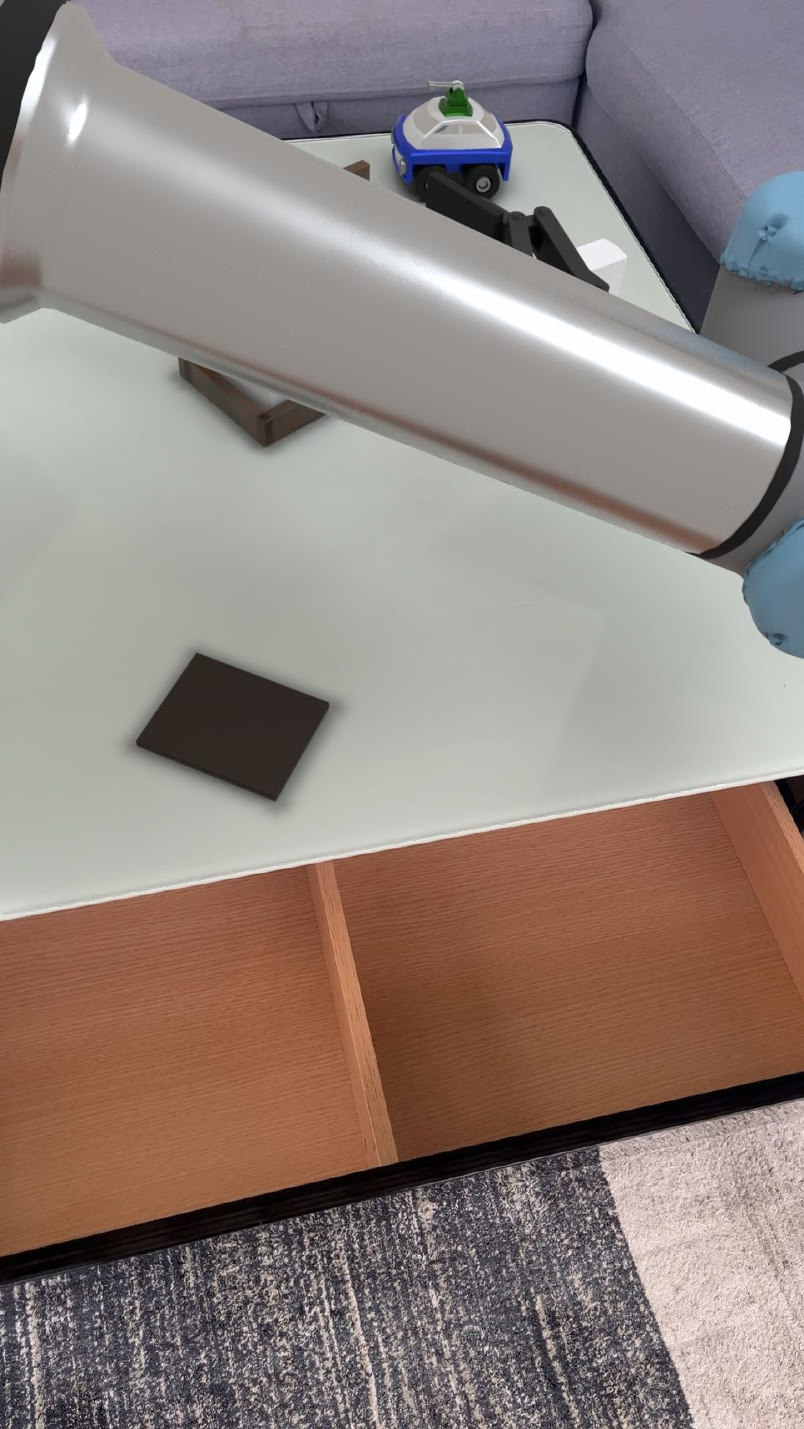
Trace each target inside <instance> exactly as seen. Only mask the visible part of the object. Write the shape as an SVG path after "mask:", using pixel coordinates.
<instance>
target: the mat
mask: <svg viewBox="0 0 804 1429" xmlns="http://www.w3.org/2000/svg"><path fill="white" fill-rule="evenodd" d="M329 708H330V702H329V701H326V700H324V699H321V698H318V697H316V696H314V695H311V694H308V693H305V692H304V691H303V692H302V691H300V690H298V689H295V688H292V687H289V686H288V685H287V686H286V685H284V684H281V683H279V682H276V681H273V680H271V679H269V678H266V677H263V676H260V675H258V674H255V673H253V672H251V671H250V672H249V671H247V670H244V669H242V668H240V667H236V666H234V665H232V664H229V663H226V662H223V661H221V660H218V659H215V658H213V657H210V656H208V655H205V654H202V653H199V652H195V654H194V656H193V657H192V658H191V659H190V661H189V663H188V664H187V666H186V667H185V668H184V670H183V671H182V673H181V674H180V676H179V677H178V678H177V680H176V682H175V683H174V684H173V686H172V687H171V689H170V690H169V692H168V693H167V694H166V696H165V698H164V699H163V700H162V702H161V703H160V705H159V706H158V707H157V709H156V711H155V712H154V714H153V715H152V716H151V718H150V719H149V721H148V722H147V724H146V725H145V727H144V728H143V730H142V731H141V732H140V735H138V737H137V739H136V740H135V743H136V746H137V747H139V748H142V749H144V750H147V751H149V752H151V753H154V754H156V755H159V756H162V757H163V758H167V759H169V760H171V761H174V762H177V763H178V764H181V765H184V766H186V767H189V768H191V769H194V770H196V771H199V772H201V773H204V774H206V775H209V776H212V777H215V778H217V779H218V780H221V781H224V782H226V783H229V784H232V785H233V786H236V787H239V788H242V789H244V790H247V791H249V792H252V793H254V794H256V795H259V796H261V797H264V798H267V799H268V800H272V801H274V802H276V801H277V800H278V798H279V796H280V795H281V793H282V791H283V789H284V787H285V786H286V784H287V782H288V781H289V779H290V777H291V776H292V774H293V772H294V770H295V769H296V766H297V765H298V763H299V761H300V760H301V758H302V756H303V755H304V753H305V751H306V749H307V747H308V745H309V744H310V743H311V740H312V739H313V736H315V733H316V731H317V729H318V728H319V726H320V725H321V722H322V721H323V720H324V717H325V715H326V714H327V712H328V710H329Z"/></svg>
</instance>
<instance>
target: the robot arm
mask: <svg viewBox="0 0 804 1429" xmlns="http://www.w3.org/2000/svg"><path fill="white" fill-rule="evenodd" d="M343 168H344V167H340V166H339V165H336V164H334V163H332V162H330V161H327V160H325V159H324V158H321V157H320V156H317V155H314V154H312V153H311V152H308V151H306V150H304V149H302V148H299V147H298V146H296V145H293V144H291V143H289V142H287V141H285V140H283V139H280V138H278V137H276V136H274V135H272V134H270V133H268V132H265V131H264V130H261V129H259V128H257V127H255V126H253V125H251V124H249V123H246V122H244V121H242V120H240V119H238V118H235V117H234V116H231V115H229V114H227V113H225V112H222V111H221V110H218V109H216V108H214V107H212V106H210V105H207V104H205V103H204V102H201V101H199V100H197V99H195V98H192V97H190V96H189V95H187V94H185V93H182V92H180V91H177V90H176V89H173V88H171V87H169V86H167V85H165V84H162V83H161V82H159V81H156V80H155V79H152V78H150V77H148V76H146V75H143V74H141V73H139V72H137V71H135V70H133V69H131V68H128V67H126V66H124V65H122V64H121V63H118V62H115V60H114V59H113V58H112V57H111V55H110V54H109V53H108V51H107V50H106V48H105V46H104V44H103V42H102V39H101V38H100V35H99V34H98V32H97V29H96V28H95V26H94V24H93V22H92V20H91V17H90V16H89V14H88V12H87V10H86V8H85V7H84V6H82V5H81V4H79V3H77V2H75V1H74V0H0V324H2V325H5V324H8V323H10V322H12V321H15V320H18V319H20V318H22V317H25V316H27V315H30V314H31V313H34V312H36V311H39V310H41V309H48V310H49V309H50V310H54V311H58V312H60V313H62V314H65V315H68V316H70V317H73V318H75V319H78V320H81V321H83V322H86V323H88V324H91V325H93V326H96V327H99V328H102V329H104V330H107V331H109V332H112V333H115V334H117V335H120V336H122V337H125V338H128V339H130V340H133V341H135V342H138V343H141V344H143V345H146V346H149V347H151V348H154V349H156V350H158V351H162V352H164V353H166V354H169V355H172V356H174V357H176V358H178V357H179V358H182V359H185V360H187V361H190V362H192V363H195V364H198V365H200V366H203V367H205V368H208V369H211V370H213V371H216V372H218V373H221V374H224V375H226V376H229V377H231V378H234V379H237V380H239V381H242V382H244V383H247V384H249V385H252V386H255V387H257V388H260V389H262V390H265V391H268V392H270V393H273V394H275V395H278V396H281V397H283V398H286V399H288V400H291V401H294V402H296V403H299V404H301V405H304V406H307V407H309V408H312V409H314V410H317V411H320V412H322V413H325V414H326V415H328V416H330V417H333V418H336V419H337V420H340V421H343V422H346V423H348V424H351V425H354V426H356V427H359V428H362V429H364V430H367V431H368V432H369V431H370V432H371V433H375V434H377V435H378V436H379V435H380V436H383V437H385V438H388V439H390V440H393V441H394V442H397V443H401V444H403V445H406V446H408V447H410V448H413V449H416V450H418V451H421V452H423V453H426V454H429V455H432V456H433V457H436V458H440V459H442V460H445V461H447V462H450V463H451V464H455V465H457V466H460V467H462V468H465V469H468V470H470V471H473V472H476V473H478V474H481V475H482V476H486V477H489V478H491V479H494V480H496V481H499V482H501V483H503V484H506V485H510V486H511V487H514V488H517V489H520V490H522V491H525V492H528V493H530V494H533V495H535V496H538V497H539V498H544V499H545V500H548V501H551V502H553V503H556V504H558V505H561V506H564V507H566V508H569V509H572V510H574V511H576V512H579V513H582V514H584V515H587V516H590V517H592V518H595V519H597V520H600V521H602V522H605V523H608V524H611V525H614V526H615V527H618V528H620V529H623V530H627V531H629V532H631V533H633V534H637V535H639V536H642V537H643V538H647V539H649V540H651V541H655V542H657V543H660V544H662V545H665V546H668V547H670V548H672V549H675V550H678V551H681V552H683V553H685V554H688V555H690V556H692V557H696V558H697V559H700V560H703V561H704V562H707V563H709V564H711V565H714V566H717V567H720V568H722V569H724V570H727V571H730V572H732V573H735V574H737V575H738V576H740V578H742V580H743V581H742V586H741V594H742V598H743V601H744V603H745V604H746V605H747V606H748V609H749V613H750V616H751V619H752V621H753V623H754V625H755V627H756V629H757V631H758V632H759V633H760V634H761V635H762V636H763V637H764V638H765V639H766V640H767V641H768V642H769V644H770V646H772V647H773V648H775V649H777V650H778V651H780V652H782V653H784V654H787V655H789V656H792V657H795V658H798V659H802V660H804V169H803V170H802V169H801V170H794V171H788V172H786V173H782V174H778V175H776V176H774V177H771V178H770V179H767V180H766V181H764V182H762V183H761V184H760V185H758V186H757V187H756V188H755V189H754V190H753V191H752V192H751V193H750V195H749V196H748V198H746V201H745V202H744V204H743V207H742V208H741V211H740V214H739V216H738V219H737V220H736V223H735V225H734V228H733V231H732V233H731V236H730V238H729V241H728V243H727V245H726V248H725V250H724V251H723V252H722V253H721V254H720V258H719V261H718V263H719V264H720V267H719V270H718V273H717V277H716V280H715V283H714V287H713V290H712V292H711V295H710V299H709V302H708V306H707V309H706V312H705V316H704V319H703V323H702V325H701V329H700V331H699V334H698V333H696V332H694V331H691V330H689V329H687V328H685V327H683V326H681V325H680V324H679V325H678V324H676V323H675V322H672V321H669V320H668V319H665V318H664V317H661V316H660V315H657V314H655V313H654V312H651V311H649V310H647V309H644V308H642V307H640V306H638V305H636V304H635V303H632V302H629V301H628V300H625V299H623V298H621V297H619V296H618V297H617V296H614V295H612V294H610V293H609V288H610V287H609V285H608V283H606V282H605V281H604V280H602V279H601V278H600V277H598V276H597V275H596V274H594V273H593V272H592V271H590V270H589V268H588V267H587V265H586V264H585V262H584V260H583V259H582V257H581V256H580V254H579V253H578V251H577V250H576V248H577V247H575V245H574V243H573V242H572V240H571V238H570V237H569V235H568V234H567V232H566V231H565V229H564V227H563V226H562V225H561V223H560V221H559V220H558V218H557V217H556V215H555V214H554V212H553V210H552V209H551V208H550V207H547V206H544V205H539V206H536V207H534V209H533V213H532V214H528V215H526V214H525V213H523V212H521V211H517V210H513V211H509V210H507V209H505V208H503V207H502V206H500V205H498V204H496V203H495V202H493V201H492V200H490V199H487V198H484V197H481V196H479V197H478V196H477V195H475V194H473V193H472V192H470V191H468V190H467V189H466V187H465V186H462V185H461V184H459V183H457V182H456V181H454V180H452V179H451V178H450V177H449V178H447V177H446V176H444V175H443V174H441V173H439V172H438V171H433V172H431V173H429V174H428V179H427V194H426V201H425V206H424V205H422V204H419V203H417V202H415V201H413V200H411V199H409V198H407V197H404V196H402V195H401V194H398V193H397V192H394V191H392V190H390V189H388V188H386V187H383V186H382V185H379V184H377V183H375V182H372V181H371V180H370V181H368V180H366V179H364V178H362V177H360V176H358V175H355V174H353V173H351V172H349V171H347V170H345V169H343Z"/></svg>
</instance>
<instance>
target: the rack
mask: <svg viewBox="0 0 804 1429" xmlns="http://www.w3.org/2000/svg"><path fill="white" fill-rule="evenodd" d="M342 168H343V169H345V170H347V171H349V172H351V173H353V174H355V175H358V176H360V177H362V178H364V179H366V180H368V181H370V182H371V179H370V178H371V164H370V163H369V162H367V161H366V160H364V159H360V160H359V161H356V162H354V163H351V164H348V165H345V166H344V167H342ZM177 361H178V363H177V364H178V370H179V375H180V377H182V378H183V379H184V380H185V381H187V382H188V383H189V384H190V385H191V386H192V387H193V388H195V389H196V390H197V391H198V392H200V393H201V395H203V396H204V397H206V399H208V400H209V401H210V402H211V403H213V404H214V406H216V407H217V408H218V409H219V410H221V412H223V413H224V414H225V415H227V416H228V417H229V418H230V419H231V420H232V421H233V422H234V423H236V424H237V425H238V426H240V428H242V429H243V430H244V431H245V432H246V433H248V435H250V436H251V437H252V438H253V439H255V440H256V441H257V442H258V443H259V444H260V445H261V446H263V448H266V447H268V446H271V445H272V444H274V443H276V442H278V441H280V440H281V439H283V438H285V437H287V436H289V435H290V434H292V433H294V432H296V431H298V430H300V429H302V428H304V427H305V426H307V425H309V424H311V423H313V422H314V421H316V420H318V419H320V418H322V417H324V416H326V415H327V414H325V413H322V412H320V411H317V410H314V409H312V408H309V407H307V406H304V405H301V404H299V403H296V402H294V401H291V400H286V401H285V402H283V403H281V404H279V405H277V406H275V407H273V408H271V409H269V410H267V411H264V410H262V409H261V408H260V407H259V406H258V405H256V404H255V403H254V402H253V401H252V400H250V399H249V398H248V397H247V396H246V395H244V394H243V393H242V392H241V391H240V390H238V389H237V388H236V387H235V386H234V385H232V384H231V383H230V382H229V381H228V380H226V379H225V378H224V377H223V376H222V375H220V374H219V373H218V372H216V371H213V370H211V369H208V368H205V367H203V366H200V365H198V364H195V363H192V362H190V361H187V360H185V359H182V358H179V357H177Z"/></svg>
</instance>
